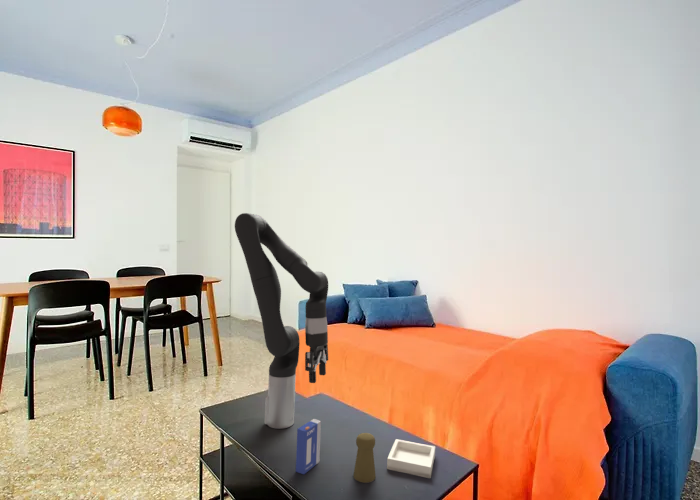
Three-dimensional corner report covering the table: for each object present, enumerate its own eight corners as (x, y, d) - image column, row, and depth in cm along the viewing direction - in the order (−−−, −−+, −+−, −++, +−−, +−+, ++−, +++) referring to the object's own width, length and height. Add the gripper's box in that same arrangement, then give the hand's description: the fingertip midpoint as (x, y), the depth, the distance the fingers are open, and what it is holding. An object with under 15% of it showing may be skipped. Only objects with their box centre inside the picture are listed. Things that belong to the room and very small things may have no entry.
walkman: (303, 474, 102) (305, 430, 102) (295, 471, 104) (297, 427, 104) (320, 461, 109) (321, 419, 109) (312, 458, 110) (313, 417, 111)
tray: (387, 469, 106) (387, 458, 106) (395, 448, 118) (395, 438, 118) (430, 478, 103) (430, 467, 103) (435, 456, 114) (435, 446, 114)
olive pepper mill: (352, 469, 106) (353, 429, 106) (373, 469, 106) (375, 429, 106) (354, 482, 100) (355, 440, 100) (377, 482, 100) (378, 440, 100)
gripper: (314, 326, 137) (315, 372, 137) (297, 334, 124) (298, 384, 123) (334, 327, 135) (335, 373, 134) (318, 334, 121) (319, 386, 121)
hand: (317, 378), depth 129 cm, fingers open, 8 cm apart
